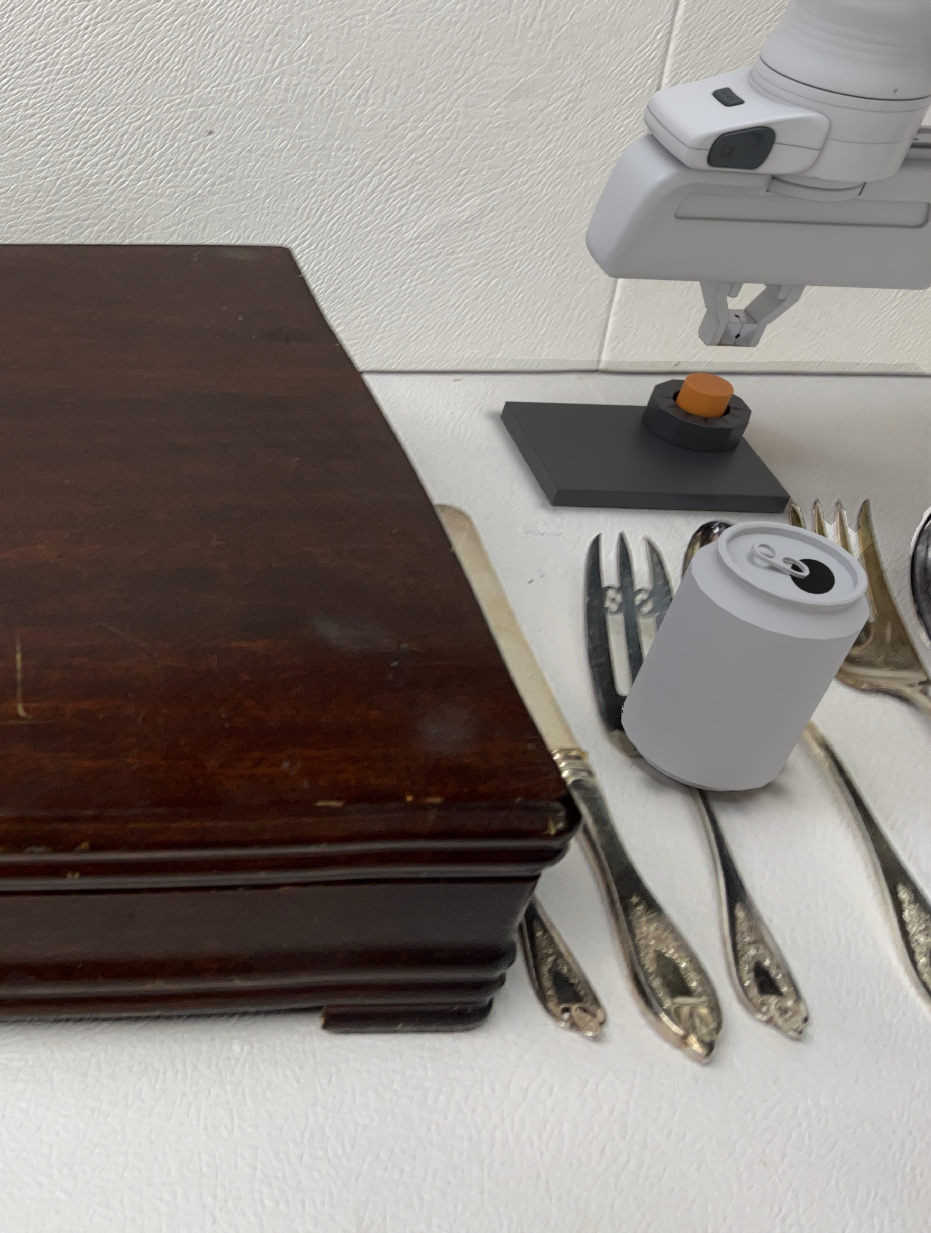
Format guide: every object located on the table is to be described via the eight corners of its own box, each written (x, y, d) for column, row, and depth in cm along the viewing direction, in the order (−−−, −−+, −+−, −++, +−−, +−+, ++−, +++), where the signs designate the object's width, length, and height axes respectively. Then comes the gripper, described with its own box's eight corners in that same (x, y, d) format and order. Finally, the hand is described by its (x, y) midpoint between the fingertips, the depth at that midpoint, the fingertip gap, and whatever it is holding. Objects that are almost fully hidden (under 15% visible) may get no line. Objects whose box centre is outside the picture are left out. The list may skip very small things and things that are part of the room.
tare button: (712, 396, 100) (722, 372, 99) (730, 420, 98) (742, 396, 97) (668, 395, 100) (678, 371, 99) (686, 419, 98) (696, 394, 97)
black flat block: (711, 420, 103) (729, 380, 101) (783, 513, 95) (804, 471, 93) (498, 413, 103) (512, 373, 101) (551, 505, 95) (567, 463, 93)
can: (765, 825, 75) (879, 630, 67) (600, 763, 78) (692, 570, 70) (785, 734, 80) (893, 543, 72) (630, 679, 83) (718, 490, 75)
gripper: (979, 107, 90) (869, 323, 99) (622, 92, 90) (544, 310, 99) (1043, 152, 85) (921, 375, 94) (666, 137, 85) (579, 362, 94)
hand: (725, 342), depth 96 cm, fingers closed
